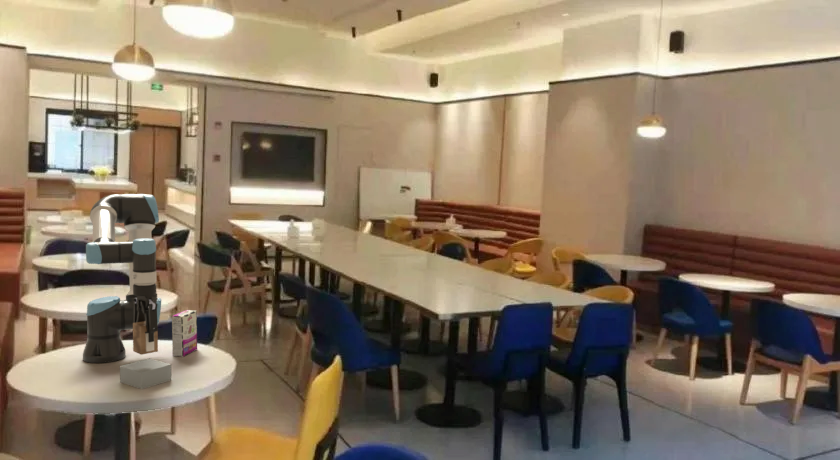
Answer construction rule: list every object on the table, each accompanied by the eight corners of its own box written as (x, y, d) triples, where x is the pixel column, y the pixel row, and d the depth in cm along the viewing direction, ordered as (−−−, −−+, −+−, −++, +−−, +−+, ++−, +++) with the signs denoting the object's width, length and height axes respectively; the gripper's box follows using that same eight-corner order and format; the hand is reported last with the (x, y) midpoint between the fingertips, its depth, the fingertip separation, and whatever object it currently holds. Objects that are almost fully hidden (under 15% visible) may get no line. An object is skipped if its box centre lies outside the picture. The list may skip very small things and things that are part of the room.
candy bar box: (186, 348, 283) (186, 309, 282) (197, 349, 282) (197, 310, 281) (171, 356, 273) (171, 315, 271) (183, 357, 272) (182, 316, 270)
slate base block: (120, 382, 240) (119, 366, 240) (149, 374, 250) (149, 358, 250) (141, 389, 234) (141, 372, 233) (171, 380, 244) (171, 364, 243)
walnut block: (133, 351, 241) (132, 322, 240) (149, 348, 245) (149, 320, 244) (141, 354, 237) (140, 326, 236) (157, 351, 241) (157, 323, 240)
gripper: (121, 280, 242) (122, 345, 245) (146, 288, 229) (147, 356, 232) (142, 278, 248) (143, 341, 250) (168, 286, 235) (168, 352, 237)
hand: (145, 348), depth 241 cm, fingers closed on walnut block, 6 cm apart
